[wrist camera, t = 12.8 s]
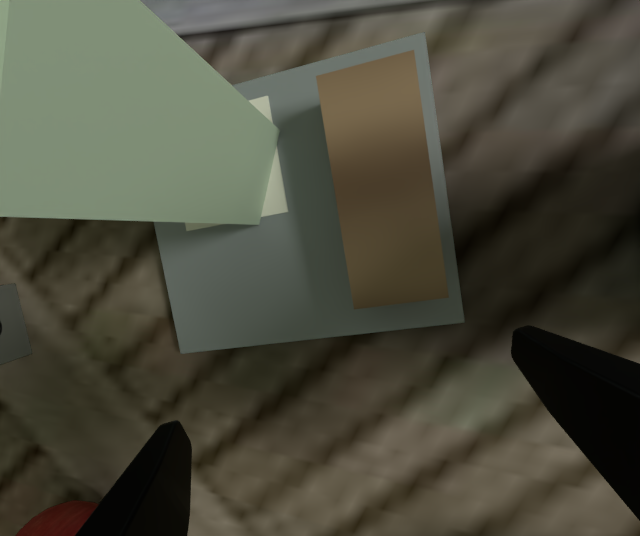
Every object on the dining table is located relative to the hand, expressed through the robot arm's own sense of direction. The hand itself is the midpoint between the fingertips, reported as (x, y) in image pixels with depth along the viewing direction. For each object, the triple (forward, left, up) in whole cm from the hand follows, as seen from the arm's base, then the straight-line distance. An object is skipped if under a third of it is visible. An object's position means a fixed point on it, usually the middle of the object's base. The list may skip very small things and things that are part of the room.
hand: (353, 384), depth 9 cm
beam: (+6, -1, -9) cm, 11 cm away
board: (+6, +4, -11) cm, 12 cm away
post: (+9, +6, -9) cm, 14 cm away
